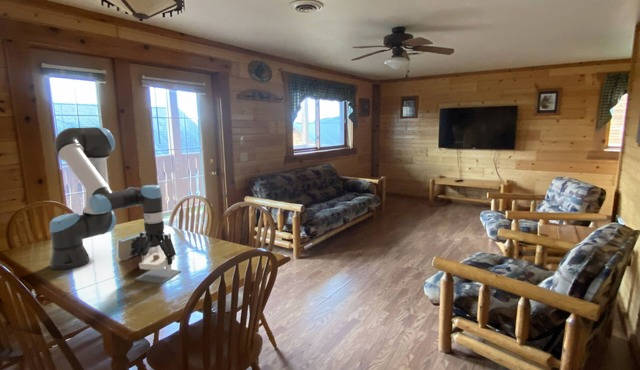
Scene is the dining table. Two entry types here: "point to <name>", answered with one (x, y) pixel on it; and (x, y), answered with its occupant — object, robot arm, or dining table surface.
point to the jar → (154, 248)
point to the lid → (154, 262)
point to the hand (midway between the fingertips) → (158, 270)
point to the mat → (158, 276)
